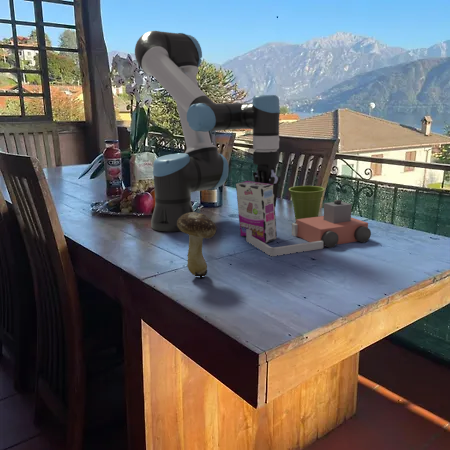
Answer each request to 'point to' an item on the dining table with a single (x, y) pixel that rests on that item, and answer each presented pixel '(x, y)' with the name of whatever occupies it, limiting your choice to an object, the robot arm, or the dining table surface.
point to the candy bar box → (257, 210)
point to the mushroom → (196, 239)
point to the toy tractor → (321, 231)
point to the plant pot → (306, 200)
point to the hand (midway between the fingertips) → (266, 229)
